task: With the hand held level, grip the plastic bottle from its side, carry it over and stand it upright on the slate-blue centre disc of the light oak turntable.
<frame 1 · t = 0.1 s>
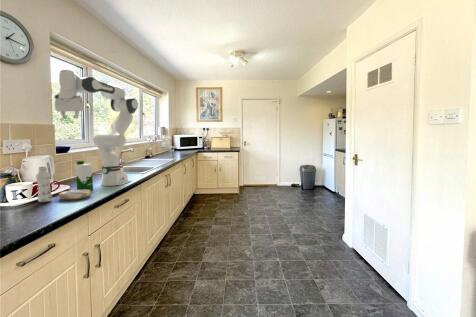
hand: (70, 118, 160), 48 cm above the table, tool pointing down, fingers open, 8 cm apart
turntable: (75, 194, 152), point 3 cm above the table, hinge at 0.0°
milk carton: (85, 190, 173), on the table
plastic bottle: (45, 202, 143), on the table
turntable base: (75, 198, 152), on the table
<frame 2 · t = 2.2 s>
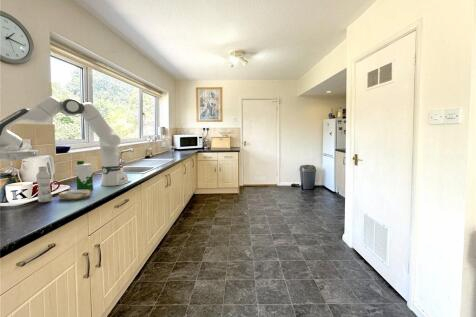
hand: (27, 154, 144), 26 cm above the table, tool horizontal, fingers open, 8 cm apart
nothing on the table moved.
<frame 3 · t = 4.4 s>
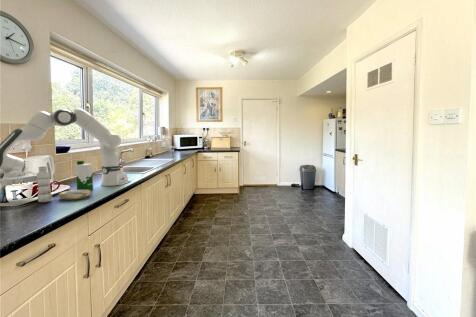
hand: (32, 180, 145), 12 cm above the table, tool horizontal, fingers open, 8 cm apart
nothing on the table moved.
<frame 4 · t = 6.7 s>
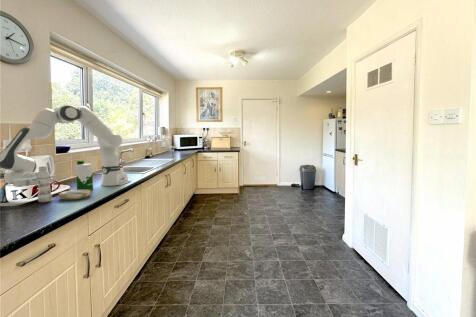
hand: (45, 181, 142), 12 cm above the table, tool horizontal, fingers closed on plastic bottle, 6 cm apart
plastic bottle: (45, 202, 143), on the table, touching gripper
everything else where it was.
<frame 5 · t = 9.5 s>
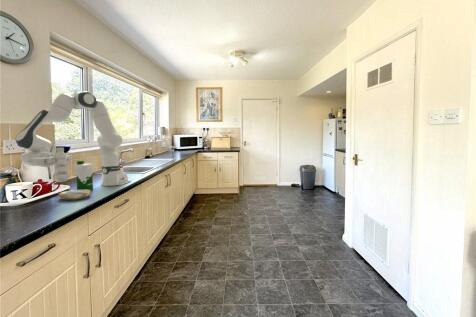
hand: (61, 160, 146), 23 cm above the table, tool horizontal, fingers closed on plastic bottle, 6 cm apart
plastic bottle: (61, 182, 148), point 10 cm above the table, touching gripper
everything else where it was.
when the fingers open (17 cm above the table, at t = 12.4 s): plastic bottle stays where it is, resting on turntable.
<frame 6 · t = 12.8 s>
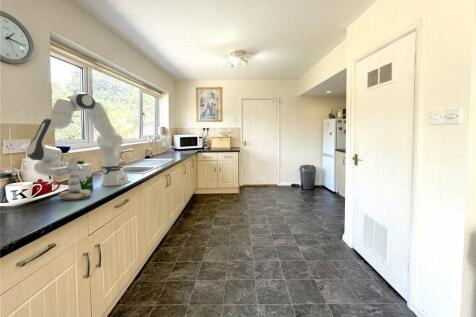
hand: (74, 170, 150), 17 cm above the table, tool horizontal, fingers open, 8 cm apart
turntable: (75, 194, 152), point 3 cm above the table, hinge at 0.0°, touching plastic bottle
plastic bottle: (74, 192, 152), point 3 cm above the table, touching turntable
everything else where it was.
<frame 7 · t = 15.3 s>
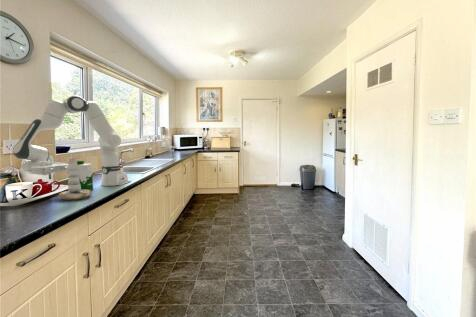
hand: (59, 169, 154), 17 cm above the table, tool horizontal, fingers open, 8 cm apart
nothing on the table moved.
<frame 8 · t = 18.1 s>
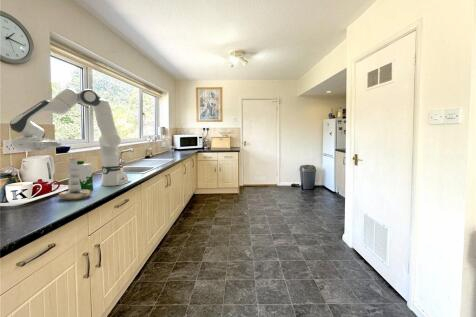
hand: (51, 144, 151), 32 cm above the table, tool horizontal, fingers open, 8 cm apart
nothing on the table moved.
at the end: plastic bottle 0.3 cm off-centre on the turntable, point 3.4 cm above the turntable's base; plastic bottle tilted 0°; the gripper is holding nothing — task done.
